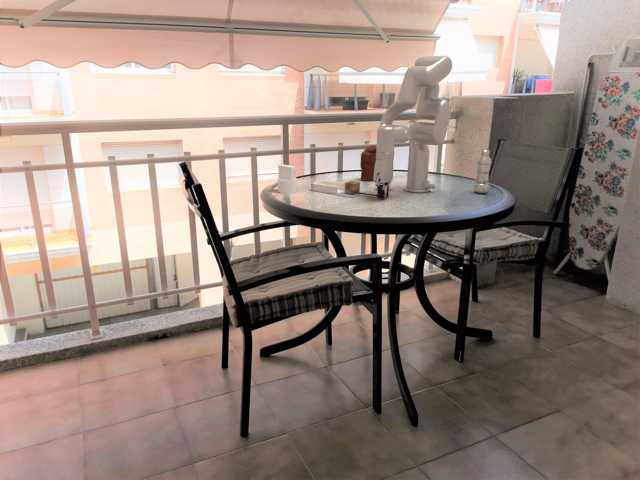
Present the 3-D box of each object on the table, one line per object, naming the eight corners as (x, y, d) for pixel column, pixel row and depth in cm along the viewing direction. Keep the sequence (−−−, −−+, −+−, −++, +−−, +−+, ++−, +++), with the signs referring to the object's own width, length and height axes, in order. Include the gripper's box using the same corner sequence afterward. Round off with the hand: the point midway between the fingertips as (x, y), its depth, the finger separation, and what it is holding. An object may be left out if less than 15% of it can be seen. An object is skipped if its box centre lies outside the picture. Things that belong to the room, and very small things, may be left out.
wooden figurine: (380, 178, 253) (381, 144, 247) (383, 181, 247) (385, 146, 241) (358, 179, 251) (359, 145, 245) (362, 181, 245) (363, 146, 239)
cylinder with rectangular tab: (300, 191, 223) (300, 165, 219) (286, 194, 217) (286, 168, 213) (287, 188, 229) (287, 163, 225) (273, 191, 222) (273, 165, 219)
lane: (347, 190, 225) (347, 183, 224) (335, 194, 217) (336, 186, 216) (322, 186, 232) (323, 179, 231) (311, 190, 224) (311, 183, 223)
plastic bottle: (488, 192, 224) (493, 149, 217) (486, 195, 218) (492, 151, 212) (474, 190, 226) (479, 148, 220) (472, 193, 220) (477, 150, 214)
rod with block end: (388, 197, 210) (389, 184, 209) (383, 199, 206) (384, 186, 205) (350, 191, 221) (350, 179, 219) (344, 193, 217) (344, 181, 215)
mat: (364, 192, 221) (364, 192, 221) (351, 197, 211) (351, 196, 211) (349, 190, 225) (349, 189, 225) (335, 195, 216) (335, 194, 216)
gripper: (385, 153, 212) (383, 193, 218) (367, 157, 199) (366, 200, 205) (401, 154, 208) (398, 195, 214) (383, 159, 195) (381, 202, 201)
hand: (382, 197), depth 209 cm, fingers closed on rod with block end, 3 cm apart
